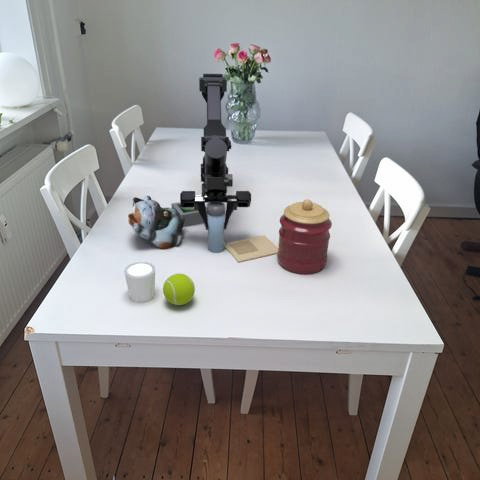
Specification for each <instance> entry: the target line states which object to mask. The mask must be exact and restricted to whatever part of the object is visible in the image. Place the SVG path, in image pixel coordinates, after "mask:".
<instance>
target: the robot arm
mask: <svg viewBox="0 0 480 480" xmlns="http://www.w3.org/2000/svg"><path fill="white" fill-rule="evenodd" d="M198 80H199V81H198V83H199V85H198V87H199V90H198V91H199V92H201V96H202V99H203V100H204V101H205V102H206V124H205V126H204V127H203V136H201V137H200V138H201V139H200V150H201V152H204V155H203V157H202V163H200V183H201V194H196V191H195V190H182V191H181V192H180V194H179V195H180V196H179V202H181V207H183V208H193V207H194V210H198V211H199V213H200V215H201V217H202V219H203V222H204V223H203V225H204V227H205V230H206V231H208V221H207V214H206V207H207V206H206V204H208V203H210V202H222V203H224V204H226V205H225V213H224V231H226V230H227V228H228V224H229V220H230V218H231V216H232V214H233V213H234V211H237V210H238V208H250V207H251V203H252V193H251V192H250V190H235V195H234V194H233V195H230V194H229V195H227V193H228V188H229V187H233V184H234V182H233V181H234V179H233V174H232V173H230V174H229V167H228V165H227V163H226V162H227V155H228V152H230V150H232V141H231V140H230V137H229V136H227V129H226V126H224V125H223V123H222V100H223V98H224V96H225V92H227V91H228V84H227V83H228V78H227V77H223V73H203V74H202V77H201V76H200V77H198ZM205 206H206V207H205Z"/></svg>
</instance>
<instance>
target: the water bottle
mask: <svg viewBox="0 0 480 480" xmlns="http://www.w3.org/2000/svg"><path fill="white" fill-rule="evenodd" d="M206 204H207V205H206V207H207V213H208V230H207V250H208V251H209V252H210V253H214V254H216V253H217V254H219V253H222V252H224V250H225V247H224V244H225V230H224V222H225V214H226V205H225V204H226V203H222V202H210V203H206Z"/></svg>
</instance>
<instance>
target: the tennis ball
mask: <svg viewBox="0 0 480 480" xmlns="http://www.w3.org/2000/svg"><path fill="white" fill-rule="evenodd" d="M195 289H196V287H195V283H194V281H193V279H192V278H190V277H189V275H187V274H185V273H175V274H174V273H173V274H172V275H171V276H168V277H167V278H166V280H164V282H163V286H162V293H163V296H164V298H165V300H166V301H167V302H168V303H170V304H172V305H175V306H183V305H187V304H188V303H189V302H190V301H191V300H192V299H193V297H194V295H195V291H196V290H195Z"/></svg>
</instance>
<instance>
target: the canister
mask: <svg viewBox="0 0 480 480" xmlns="http://www.w3.org/2000/svg"><path fill="white" fill-rule="evenodd" d="M312 202H313V201H312V200H311V199H308V198H307V199H304V200H303V201H299V202H293V203H292V204H290V205H288V206H286V207H285V208H284V209H283V214H282V215H280V218H279V223H280V225H281V226H280V228H279V230H278V235H279V236H278V246H277V247H278V251H277V254H276V255H277V262H278V264H279V265H280V267H282V268H283V269H285V270H286V271H289V272H291V273H296V274H304V275H306V274H307V275H310V274H316V273H318V272H320V271H322V270H323V269H324V268H325V266H326V264H327V261H328V252H329V250H328V249H329V243H330V239H331V233H330V229H331V228H332V224H333V223H332V220H331V219H330V212H329V211H328V210H327V209H326V208H324V207H323V206H322V205H320V204H319V203H316V202H313V203H312Z"/></svg>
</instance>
